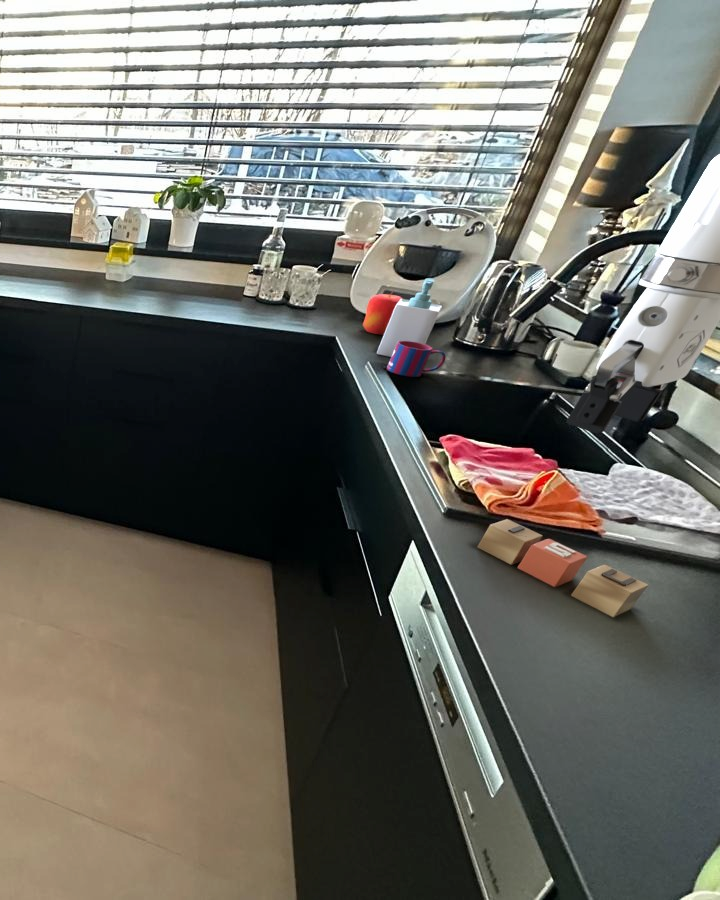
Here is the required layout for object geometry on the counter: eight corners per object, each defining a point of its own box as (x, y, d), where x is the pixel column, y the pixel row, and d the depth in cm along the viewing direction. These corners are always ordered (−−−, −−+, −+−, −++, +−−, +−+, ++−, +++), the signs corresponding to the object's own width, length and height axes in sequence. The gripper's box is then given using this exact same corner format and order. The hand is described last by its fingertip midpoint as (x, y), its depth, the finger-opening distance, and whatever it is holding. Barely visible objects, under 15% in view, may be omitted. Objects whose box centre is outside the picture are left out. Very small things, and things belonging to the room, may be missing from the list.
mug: (384, 365, 151) (396, 338, 148) (434, 374, 147) (447, 347, 144) (387, 374, 146) (399, 346, 142) (439, 383, 142) (452, 354, 138)
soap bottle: (375, 354, 159) (406, 278, 150) (381, 346, 165) (410, 273, 156) (416, 362, 154) (450, 285, 145) (420, 354, 160) (453, 280, 151)
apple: (387, 330, 180) (403, 289, 174) (398, 338, 173) (416, 296, 167) (354, 326, 182) (369, 285, 176) (363, 334, 175) (380, 292, 169)
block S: (515, 569, 80) (532, 543, 78) (533, 562, 82) (549, 536, 80) (553, 589, 77) (571, 562, 75) (570, 581, 78) (589, 555, 76)
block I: (475, 549, 84) (490, 523, 82) (493, 543, 85) (508, 517, 83) (510, 566, 81) (526, 540, 79) (527, 560, 82) (543, 534, 80)
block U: (569, 597, 76) (588, 570, 74) (586, 589, 77) (605, 562, 75) (611, 619, 72) (632, 591, 70) (628, 610, 74) (649, 583, 72)
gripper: (711, 290, 60) (609, 447, 68) (780, 281, 66) (679, 425, 74) (610, 273, 66) (527, 419, 74) (682, 266, 72) (599, 401, 80)
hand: (603, 422), depth 74 cm, fingers open, 9 cm apart
